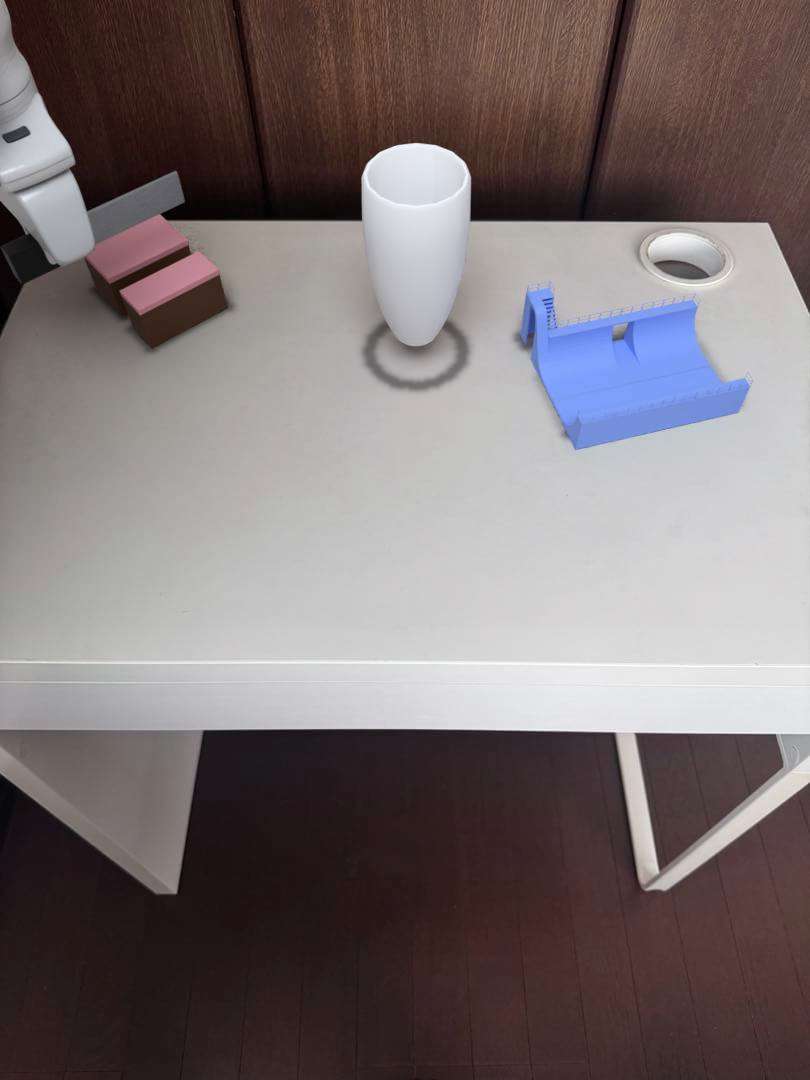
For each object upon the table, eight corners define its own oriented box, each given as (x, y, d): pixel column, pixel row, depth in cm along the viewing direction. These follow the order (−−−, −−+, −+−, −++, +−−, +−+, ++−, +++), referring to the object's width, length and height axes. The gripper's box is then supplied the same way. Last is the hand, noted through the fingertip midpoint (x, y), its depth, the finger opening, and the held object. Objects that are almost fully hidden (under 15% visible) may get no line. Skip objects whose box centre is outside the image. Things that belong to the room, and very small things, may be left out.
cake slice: (151, 349, 96) (138, 310, 91) (133, 329, 97) (119, 290, 93) (227, 308, 99) (218, 269, 94) (208, 289, 101) (199, 250, 96)
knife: (22, 285, 85) (8, 255, 82) (14, 275, 86) (0, 246, 83) (188, 205, 91) (181, 175, 89) (179, 197, 92) (172, 167, 89)
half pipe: (575, 449, 87) (587, 401, 81) (519, 337, 96) (527, 285, 90) (738, 412, 90) (761, 362, 84) (670, 305, 99) (687, 253, 93)
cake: (122, 317, 98) (107, 278, 94) (96, 289, 101) (81, 250, 96) (197, 278, 102) (187, 239, 97) (170, 252, 104) (159, 213, 100)
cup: (352, 370, 94) (338, 194, 76) (390, 307, 99) (385, 129, 81) (442, 397, 91) (450, 223, 73) (477, 332, 97) (491, 154, 78)
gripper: (-94, 77, 77) (-27, 211, 89) (9, 187, 68) (68, 320, 80) (-27, 52, 79) (30, 186, 91) (81, 156, 71) (128, 289, 82)
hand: (48, 250), depth 85 cm, fingers closed on knife, 2 cm apart
